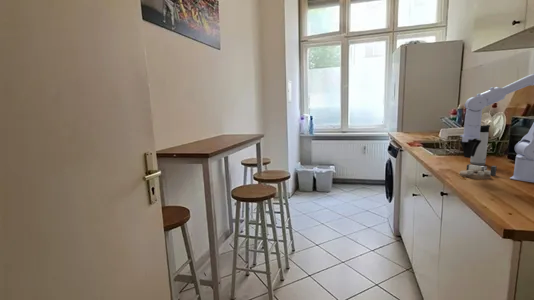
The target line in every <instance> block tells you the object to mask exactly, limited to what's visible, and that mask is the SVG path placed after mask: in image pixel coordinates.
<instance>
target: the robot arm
mask: <svg viewBox="0 0 534 300" xmlns="http://www.w3.org/2000/svg"><path fill="white" fill-rule="evenodd" d="M529 86H534V73H531V74H528V75H526V76H524V77H522V78H520V79H518V80H515V81H514V82H512V83H509V84H507V85H505V86H503V87H499V86H495V87H494V86H492V87H489V88H488V90H486V91H484V92H481V93H477V94H476V96H472V97H469V98H468V99H466V101H465V103H464V104H463V105H464V108H465V115H464V123H463V124H464V125H463V133H462V134H460V135H459V138H460V137H461V140H460V141H459V143H460V145H461V147H462V151H463V157H464V158H468V159H471V156H472V157H473V156H474V155H475V152H476V149H477V147H478V145H479V144H480V143H481V140H477V139H479V138H480V128H481V126H482V117H483V115H482V113H483V109H484V108H486V107H488V106H491V105H493V104H495V103H498V102H500V101H502V100H504V99H505V98H506V96H507V95H509V94H511V93H514V92H516V91H518V90H521V89H524V88H526V87H529ZM514 151H515V153H516V156H515V160H514V161H515V162H514V167H513V168H514V170H513V175H512V176H510V177H509V179H510V180H515V181H522V182H527V183H528V182H529V183H534V122H533V123H532V125H531V126H530V129H529V130H528V132H527V133H526V134H524V136H523V137H522V138H521V140H520V141H518V142H517V143H516V144H515V145H514Z"/></svg>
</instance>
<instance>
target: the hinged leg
mask: <svg viewBox="0 0 534 300" xmlns="http://www.w3.org/2000/svg"><path fill="white" fill-rule="evenodd" d="M465 169H466V170H473V171H475V172H478V171H483V172H484V170H488V166H487V165H474V164H471V163H470V164H469V163H468V164H467V165H466V168H465Z"/></svg>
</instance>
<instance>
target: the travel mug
mask: <svg viewBox="0 0 534 300" xmlns="http://www.w3.org/2000/svg"><path fill="white" fill-rule="evenodd" d="M490 127H491V124H486V125H485V124H484V125H481V128H480V138H479V139H477V140H481V143H480V144H479V145H478V147H477V149H476V152H475V155H474V156H473V157H472V156H471V157H470V160H469V161H470V162H469V163H470V164H471V165H477V166H486V160H487V150H488V144H489V143H488V142H489V135H490Z"/></svg>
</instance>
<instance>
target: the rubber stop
mask: <svg viewBox="0 0 534 300" xmlns="http://www.w3.org/2000/svg"><path fill="white" fill-rule="evenodd" d="M497 166H498V165H492V166H490V171H491V174H490V175H491V176H492V177H495V176H497V175H496V174H497Z"/></svg>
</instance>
